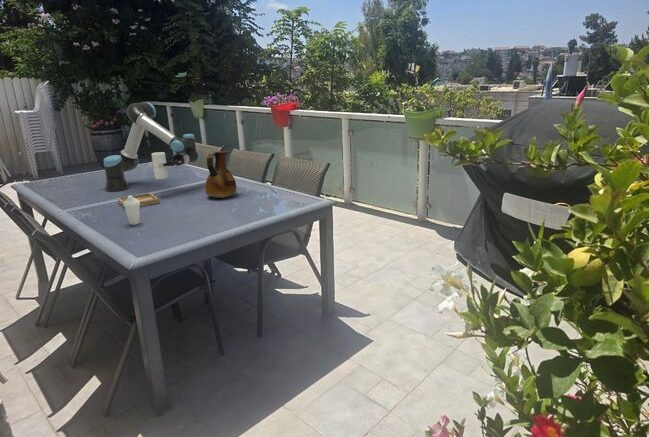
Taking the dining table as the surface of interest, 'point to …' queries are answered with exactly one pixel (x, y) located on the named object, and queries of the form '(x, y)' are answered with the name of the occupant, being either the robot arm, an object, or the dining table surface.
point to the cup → (157, 158)
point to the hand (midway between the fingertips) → (153, 165)
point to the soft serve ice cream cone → (132, 209)
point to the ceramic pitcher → (219, 177)
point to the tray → (142, 199)
